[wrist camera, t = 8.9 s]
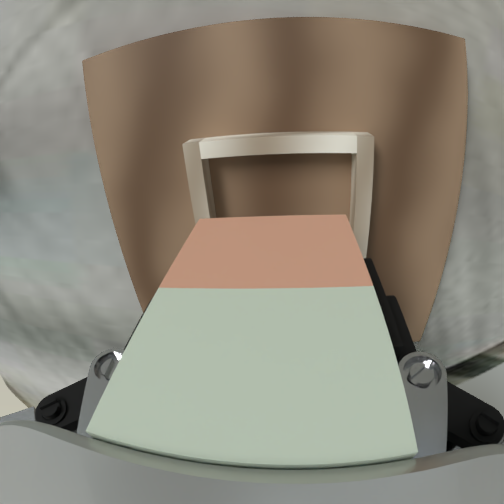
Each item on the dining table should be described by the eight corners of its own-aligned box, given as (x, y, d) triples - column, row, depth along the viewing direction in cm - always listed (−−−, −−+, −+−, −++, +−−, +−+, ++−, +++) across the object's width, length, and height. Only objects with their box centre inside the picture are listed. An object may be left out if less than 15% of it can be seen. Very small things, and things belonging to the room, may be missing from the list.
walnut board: (451, 40, 11) (476, 37, 8) (414, 327, 21) (424, 352, 18) (96, 60, 13) (69, 61, 11) (160, 328, 24) (149, 352, 21)
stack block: (345, 214, 10) (418, 451, 3) (336, 325, 12) (352, 514, 6) (199, 218, 11) (85, 430, 4) (219, 325, 13) (172, 504, 6)
